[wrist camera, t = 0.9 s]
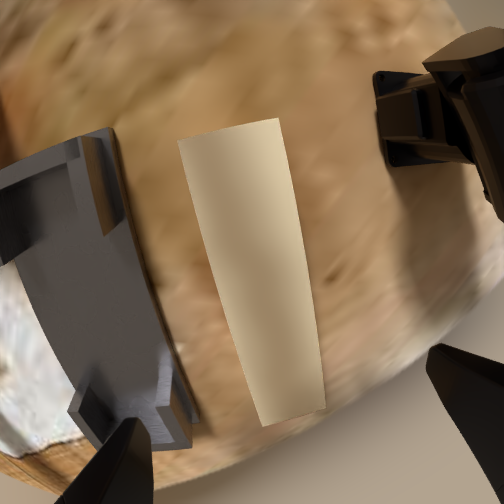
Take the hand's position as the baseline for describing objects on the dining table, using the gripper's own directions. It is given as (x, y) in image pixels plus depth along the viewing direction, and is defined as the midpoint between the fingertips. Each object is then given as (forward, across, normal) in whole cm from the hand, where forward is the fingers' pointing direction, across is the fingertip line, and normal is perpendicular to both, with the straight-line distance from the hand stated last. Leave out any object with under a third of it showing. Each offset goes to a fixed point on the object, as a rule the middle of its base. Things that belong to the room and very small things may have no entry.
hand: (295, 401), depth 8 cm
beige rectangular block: (+12, 0, 0) cm, 12 cm away
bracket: (+12, +11, +2) cm, 16 cm away
